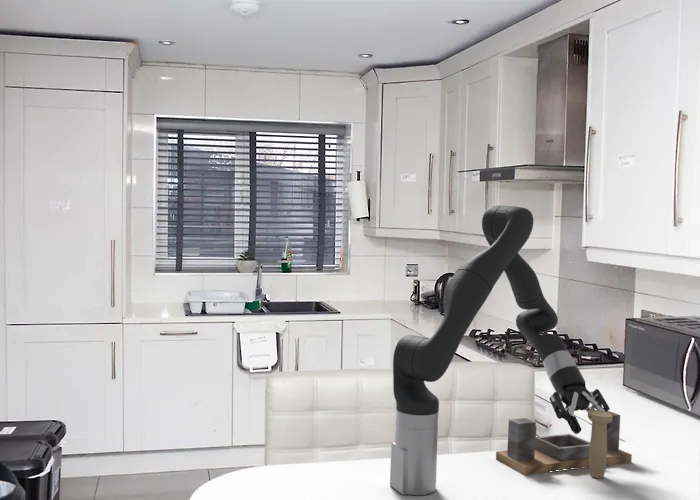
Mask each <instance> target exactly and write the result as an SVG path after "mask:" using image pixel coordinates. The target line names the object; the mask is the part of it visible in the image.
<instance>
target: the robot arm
mask: <svg viewBox="0 0 700 500" xmlns="http://www.w3.org/2000/svg"><path fill="white" fill-rule="evenodd" d="M481 219H482V220H481V228H482V232H483V235H484V238H485V240H486V242H487V243H488V245H489V246H488V247H487V248H485V249H484V250H483V251H480V252H478V253H477V254H476V255H474V256H472V257H470V258H469V259H467V260H466V261H465V262H463V263H462V264H461V265H459V267H458V268H457V269H456V270H455V272H454V274H453V275H452V277H451V278H450V280H449V281H448V283H447V285H446V287H445V289H444V293H443V318H442V321H441V323H440V325H439V326H438V328H437V329H436V331H435V333H434V334H433V335H432V336H430V337H425V336H420V335H413V334H412V335H411V334H408V335H404V336H402V337H401V338H400V339H399V340H398V341H397V343H396V346H395V348H394V350H393V357H392V358H393V359H392V376H393V378H392V383H393V385H392V387H393V397H394V400H395V406H396V409H395V411H396V412H395V431H394V432H395V433H394V434H395V436H394V437H395V438H394V442H391V446H390V473H389V474H390V475H389V476H390V477H389V486H390V487H392V489H394V490H395V491H397V492H398V493H400V494H401V495H412V496H424V495H430V494H432V493H434V492H435V491H436V490H437V489H436V488H437V465H438V464H437V463H438V461H437V460H438V439H439V436H438V435H439V411H440V402H439V401H440V400H439V398H438V397H437V395H435V394H434V393H433V392H432V391H430V390H429V388H428V387H427V385H426V383H425V382H428V383H431V382H432V383H433V382H436V381H439V380H440V379H441V378H442V377H443V375H445V373H447V370H448V369H449V366H450V365H451V362H452V360H453V359H454V357H455V354H456V353H457V350H458V349H459V346H460V344H461V342H462V340H463V338H464V337H465V335H466V332H467V331H468V330H469V327H470V325H471V324H472V322H473V320H474V319H475V317H476V315H477V314H478V312H479V311H480V309H481V308H482V307H483V305H484V304H485V302H486V300H487V299H488V298H489V296H490V294H491V292H492V290H493V288H494V287H495V285H496V283H498V280H499V279H500V278H501V277H502V274H503V273H505V275H506V278H507V279H508V282H509V285H510V288H511V291H512V294H513V297H514V299H515V303H516V305H517V306H518V307H519V308H520V309H522V310H524V311H522V312H520V313H518V315H516V318H515V324H516V328H517V329H518V331H519V332H520V333H521V335H522V336H523V337H524V338H525V339H526V340H527V341H528V342H529V343H530V344H531V346H532V347H533V348H534V349H535V351H536V353H537V355H538V356H539V359H540V361H541V362H542V365H543V367H544V370H545V372H546V375H547V377H548V379H549V381H550V382H551V385H552V387H553V389H554V391H555V392H553V393H552V394H551V396H549V401H550V403H551V407H552V408H553V411H554V412H555V416H556V417H557V419H559V420H561V419H564V420H565V421H566V422H567V424H568V426H569V428H570V430H571V432H573V434H574V435H577V434H579V433H581V431H582V427H581V425H580V423H579V421H578V419H577V417H576V416H575V415H574V413H575V412H577V411H586V412H587V413H588V410H601V411H605V412H607V411H610V409H611V408H610V406H609V404H608V403H607V401H606V400H605V398H604V396H603V394H602V392H601V391H600V390H599V389H597V388H596V389H594V391H589V390H588V389H587V387H586V380H585V378H584V376H583V375H582V373H581V371H580V369H579V367H578V365H577V363H576V362H575V359H574V358H573V356H572V355H571V354H570V352H569V350H568V349H567V346H566V345H565V342H564V340H563V339H562V337H561V336H560V335H558V334H556V333H550V334H544V333H546V332H548V331H552V330H553V329H556V327H557V326H558V321H559V317H558V315H557V313H556V311H555V310H554V308H553V306H552V305H550V303H549V302H548V301H547V298H546V297H545V296H544V293H543V291H542V288H541V284H540V280H539V279H538V276H537V274H536V272H535V271H534V269H533V268H532V267H531V266H530V265H529V263H528V262H527V261H526V260H525V259H524V258H523V256H521V255H520V254H519V252H520V251H521V250H522V248H523V247H524V246H525V244H526V243H527V241H528V240H529V238H530V236H531V234H532V231H533V228H534V216H533V214H532V212H531V210H529V209H528V208H525V207H522V206H514V205H513V206H511V205H498V204H497V205H491V206H489V207H488V208H486V209H485V211H484V213H483V215H482V218H481ZM564 404H565V406H564ZM590 404H591V405H590ZM609 428H610V423H608V424H607V430H608V429H609Z"/></svg>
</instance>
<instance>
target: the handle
mask: <svg viewBox="0 0 700 500" xmlns="http://www.w3.org/2000/svg"><path fill="white" fill-rule="evenodd" d="M612 417H613V416H612V414H610V413H608V412H605V411H601V410H596V409H595V410H588V412H587V418H588V419H589V420H590V422H591V432H590V433H591V434H590V441H589V442H590V451H589V465H590V467H589V469H590V471H589V475H590V477H591V476H592V477H591V478H595V479H603V478H604V477H605V472H606V467H607V465H606V461H607V424H608V423H610V422H612Z"/></svg>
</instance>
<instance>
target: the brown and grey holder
mask: <svg viewBox="0 0 700 500" xmlns="http://www.w3.org/2000/svg"><path fill="white" fill-rule="evenodd" d="M607 412H608V413H610V414H612V416H613V417H612V422H610V428H609V429H608V430H607V461H606V466H610V465H609V464H614V465H621V464H627V463H628V464H630V463H632V459H633V457H632V456H633V455H632V454H631V453H630V452H626V451H625V450H622V449H620V448H619V447H620V432H621V431H620V429H621V428H620V427H621V414H619V413H616V412H614V411H610V410H609V411H607ZM536 423H537V422H536V421H534V420H531V419H529V418H526V417H523V418H521V417H520V418H511V419H508V429H507V430H508V431H507V433H508V434H507V450H498V451H497V450H496V452H495V460H496V461H499V462H500V463H502V464H503V465H505V466H507V467H509V468H511V469H513V470H515V471H517V472H518V473H520V474H522V475H524V476H529V475H537V474H536V473H538V474H545V473H544V472H547V473H551V472H550V471H555V472H557V471H556V470H563V469H571V468H581V469H583V468H582V467H589V468H590V465H589V451H590V442H591V441H588V440H585V439H584V438H583V439H582V438H580V437H578V436H575V435H573V434H570V433H564V434H554V435H544V436H542V435H541V436H537V424H536Z"/></svg>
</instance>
